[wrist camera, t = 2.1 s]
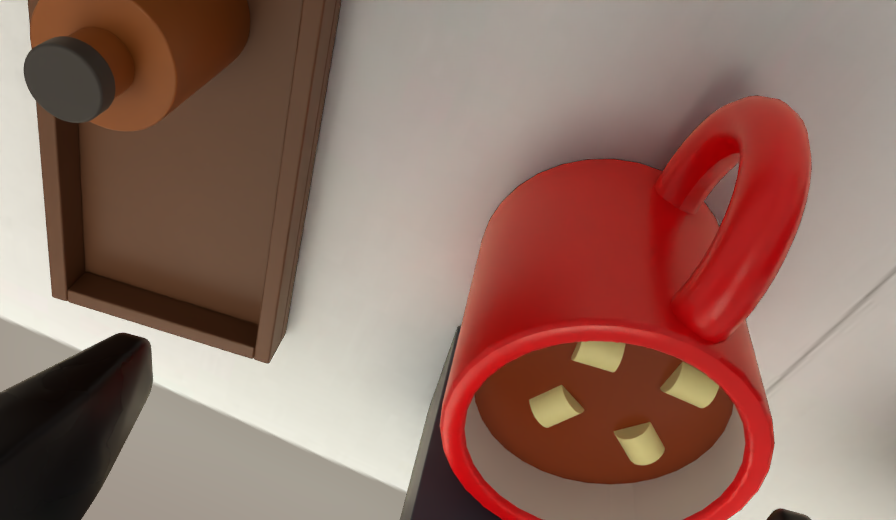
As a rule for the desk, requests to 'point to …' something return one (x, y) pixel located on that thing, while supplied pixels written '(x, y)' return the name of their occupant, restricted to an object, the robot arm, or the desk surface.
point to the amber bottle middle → (129, 56)
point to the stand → (439, 470)
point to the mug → (627, 330)
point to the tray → (198, 192)
